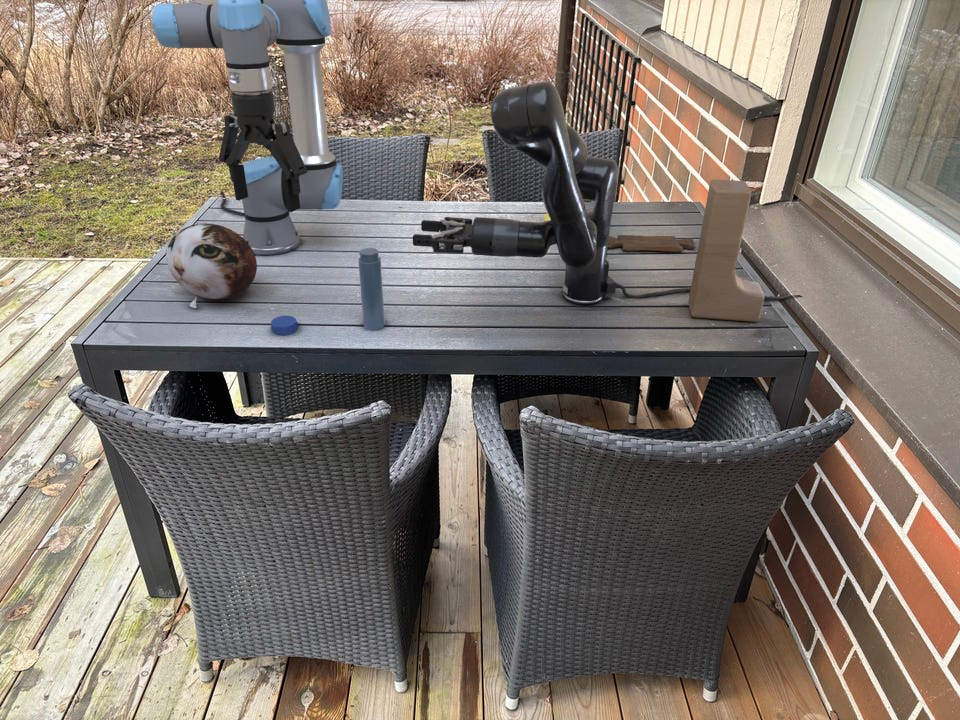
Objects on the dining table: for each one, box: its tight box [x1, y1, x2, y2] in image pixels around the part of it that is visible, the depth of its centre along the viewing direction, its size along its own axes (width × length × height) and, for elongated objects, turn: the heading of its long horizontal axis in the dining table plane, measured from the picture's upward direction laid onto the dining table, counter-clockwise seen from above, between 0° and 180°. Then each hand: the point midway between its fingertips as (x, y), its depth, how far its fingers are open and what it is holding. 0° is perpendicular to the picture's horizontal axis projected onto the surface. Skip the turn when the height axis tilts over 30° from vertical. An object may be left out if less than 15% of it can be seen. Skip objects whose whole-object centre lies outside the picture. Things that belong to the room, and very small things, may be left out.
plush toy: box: [165, 222, 258, 309], centre depth 165 cm, size 22×18×20 cm
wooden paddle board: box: [608, 234, 695, 253], centre depth 200 cm, size 26×2×10 cm
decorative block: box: [687, 178, 765, 323], centre depth 157 cm, size 8×15×30 cm, turn 82°
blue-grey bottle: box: [357, 247, 386, 331], centre depth 153 cm, size 5×5×18 cm
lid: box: [270, 315, 299, 336], centre depth 155 cm, size 6×6×2 cm
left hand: (267, 204), depth 141 cm, fingers open, 13 cm apart
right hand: (417, 232), depth 145 cm, fingers open, 8 cm apart
